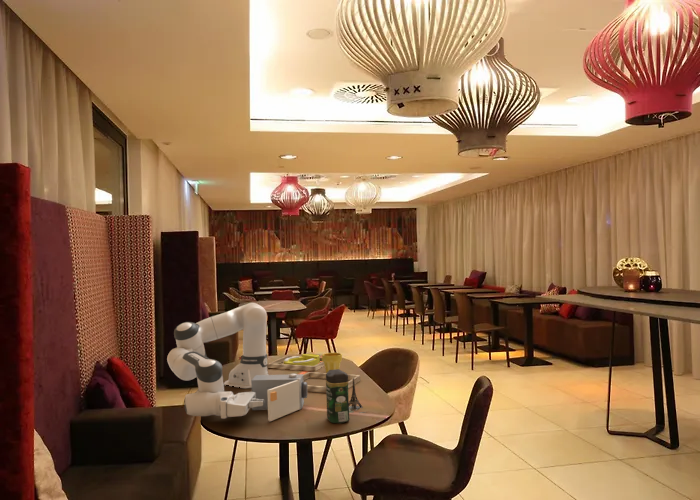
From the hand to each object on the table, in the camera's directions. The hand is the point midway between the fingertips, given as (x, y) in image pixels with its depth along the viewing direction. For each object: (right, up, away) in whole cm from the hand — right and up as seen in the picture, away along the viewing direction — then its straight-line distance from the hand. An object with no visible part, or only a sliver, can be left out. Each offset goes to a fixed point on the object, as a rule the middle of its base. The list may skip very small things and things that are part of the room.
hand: (263, 402), depth 202 cm
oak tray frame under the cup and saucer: (+20, -6, +52) cm, 56 cm away
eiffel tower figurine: (+34, -7, +13) cm, 37 cm away
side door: (+8, -6, +5) cm, 11 cm away
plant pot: (+24, -7, +77) cm, 81 cm away
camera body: (+4, -7, +18) cm, 19 cm away
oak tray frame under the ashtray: (+5, -7, +99) cm, 99 cm away
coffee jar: (+28, -6, -2) cm, 29 cm away
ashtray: (+6, -8, +98) cm, 99 cm away
